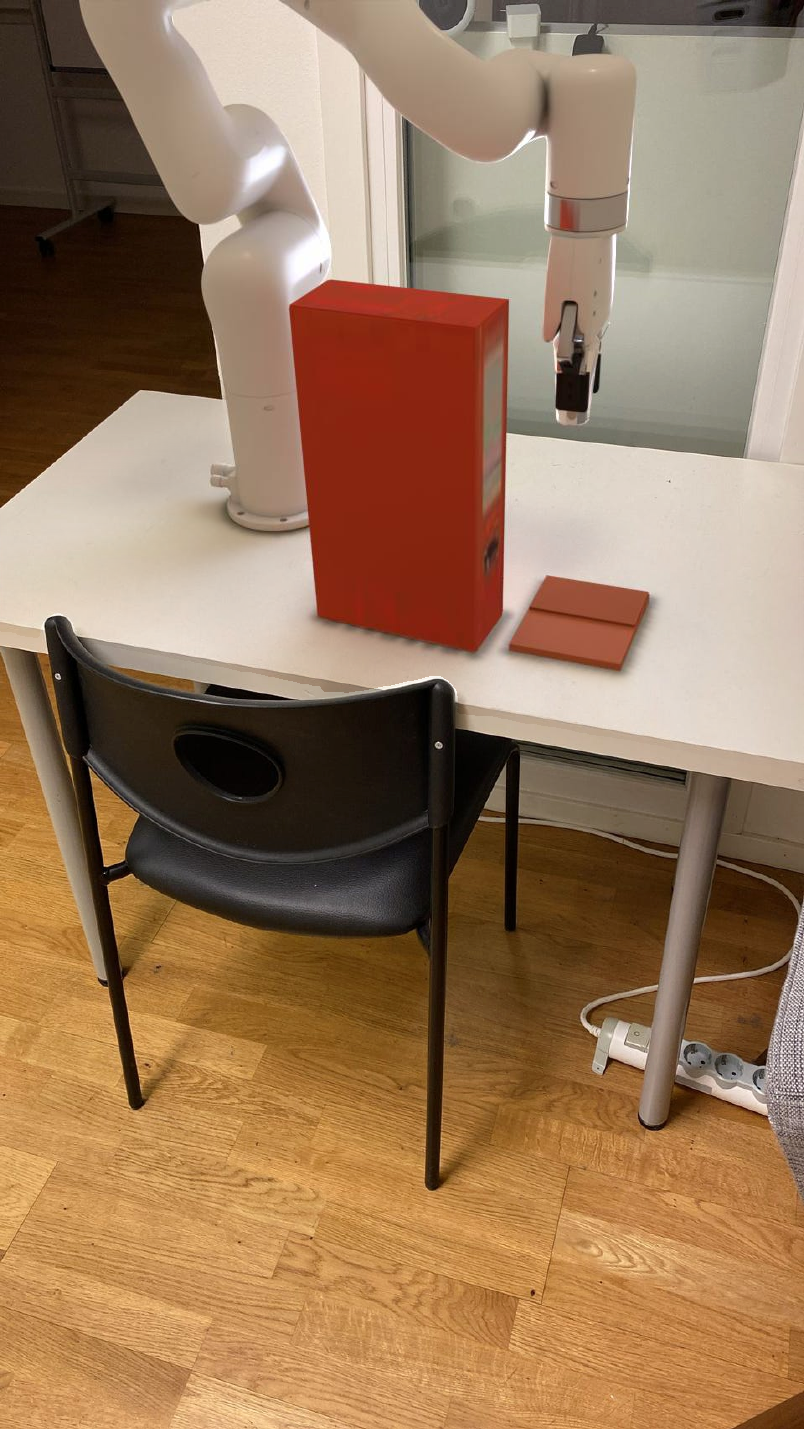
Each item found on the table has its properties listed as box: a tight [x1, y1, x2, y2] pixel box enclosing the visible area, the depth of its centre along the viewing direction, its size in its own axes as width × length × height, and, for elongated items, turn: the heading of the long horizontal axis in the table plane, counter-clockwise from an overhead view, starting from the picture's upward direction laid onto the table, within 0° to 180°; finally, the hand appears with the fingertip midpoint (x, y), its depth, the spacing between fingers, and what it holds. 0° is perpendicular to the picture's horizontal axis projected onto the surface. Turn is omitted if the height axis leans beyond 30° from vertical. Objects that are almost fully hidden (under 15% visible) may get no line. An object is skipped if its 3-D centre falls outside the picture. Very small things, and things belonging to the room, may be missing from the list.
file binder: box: [289, 278, 510, 653], centre depth 111 cm, size 8×17×32 cm, turn 65°
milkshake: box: [552, 323, 610, 427], centre depth 117 cm, size 5×5×10 cm
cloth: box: [508, 574, 651, 672], centre depth 118 cm, size 11×13×1 cm
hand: (577, 398), depth 119 cm, fingers closed on milkshake, 4 cm apart
